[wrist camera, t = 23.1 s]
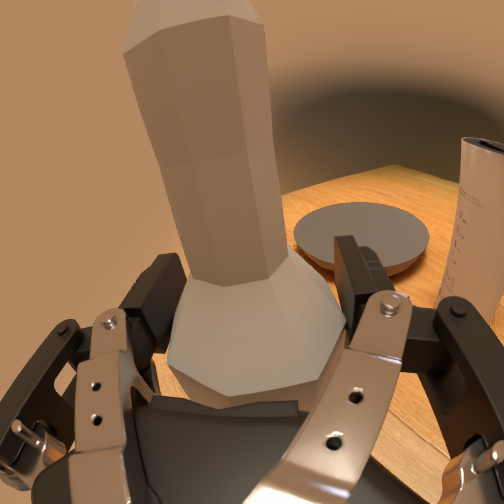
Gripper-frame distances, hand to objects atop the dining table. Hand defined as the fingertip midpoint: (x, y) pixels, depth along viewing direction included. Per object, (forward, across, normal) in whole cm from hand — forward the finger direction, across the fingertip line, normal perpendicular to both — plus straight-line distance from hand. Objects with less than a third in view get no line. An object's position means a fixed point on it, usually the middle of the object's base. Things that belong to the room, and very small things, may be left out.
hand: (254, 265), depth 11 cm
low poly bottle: (-2, 0, +12) cm, 12 cm away
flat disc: (+40, -15, +24) cm, 48 cm away
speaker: (+16, -27, +24) cm, 39 cm away
